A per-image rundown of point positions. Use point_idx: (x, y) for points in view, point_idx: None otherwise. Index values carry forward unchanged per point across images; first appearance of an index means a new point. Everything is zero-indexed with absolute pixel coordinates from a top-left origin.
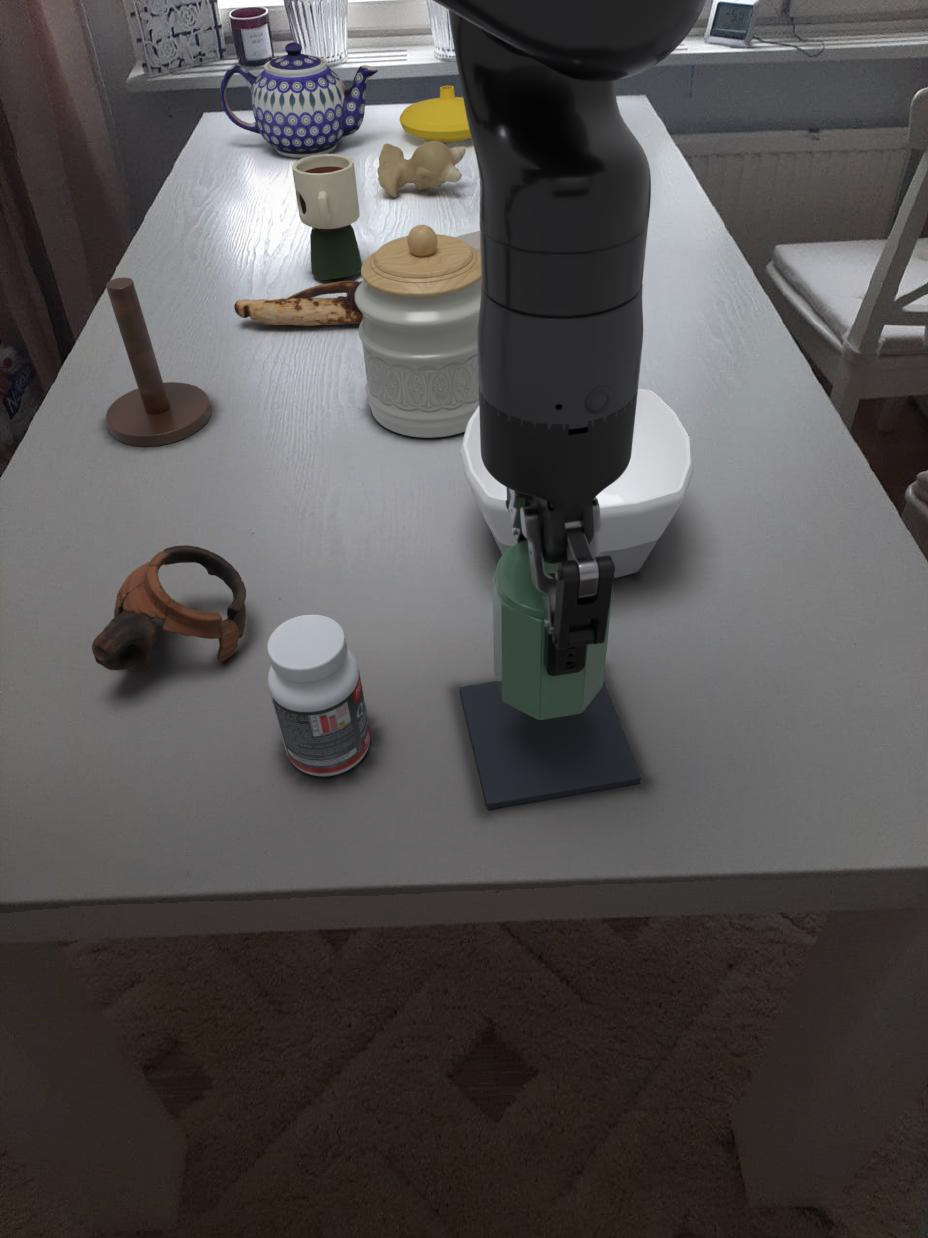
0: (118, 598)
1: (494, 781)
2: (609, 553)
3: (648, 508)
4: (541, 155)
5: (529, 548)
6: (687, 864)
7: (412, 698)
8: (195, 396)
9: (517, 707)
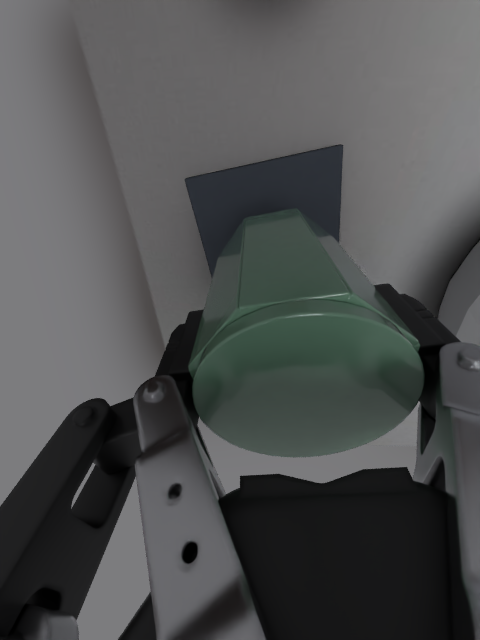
0: None
1: (211, 188)
2: (455, 329)
3: None
4: None
5: (214, 551)
6: (160, 319)
7: (346, 69)
8: None
9: (232, 236)
